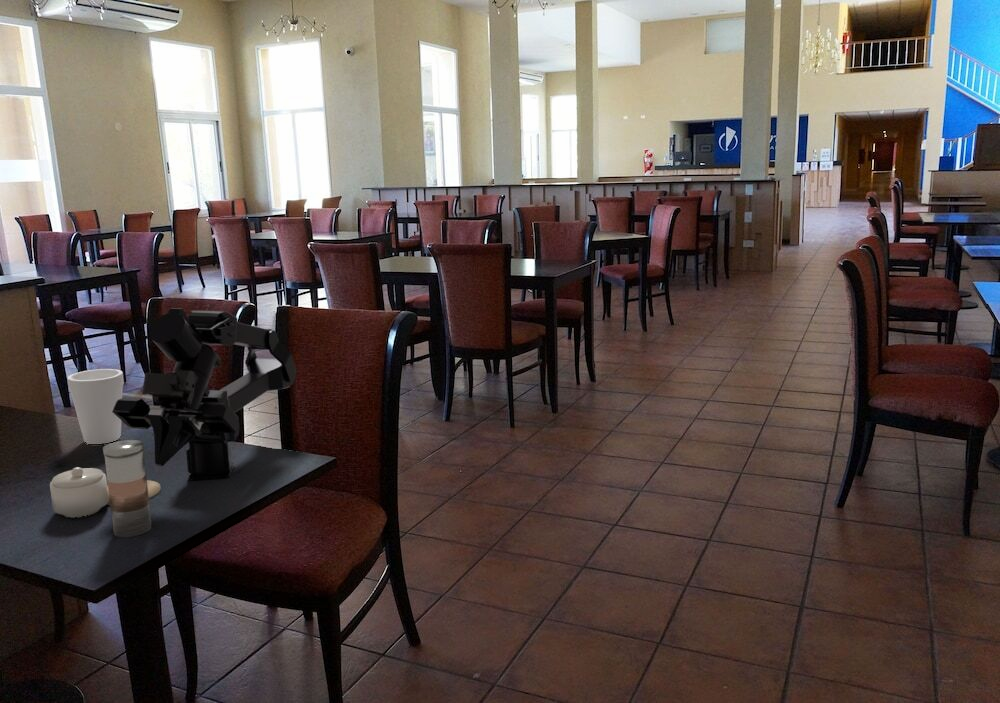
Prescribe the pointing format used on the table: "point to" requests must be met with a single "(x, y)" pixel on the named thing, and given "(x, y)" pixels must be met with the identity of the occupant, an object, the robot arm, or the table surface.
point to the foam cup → (97, 403)
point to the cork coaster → (152, 489)
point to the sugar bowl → (79, 492)
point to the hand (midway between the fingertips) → (158, 464)
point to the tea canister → (127, 488)
